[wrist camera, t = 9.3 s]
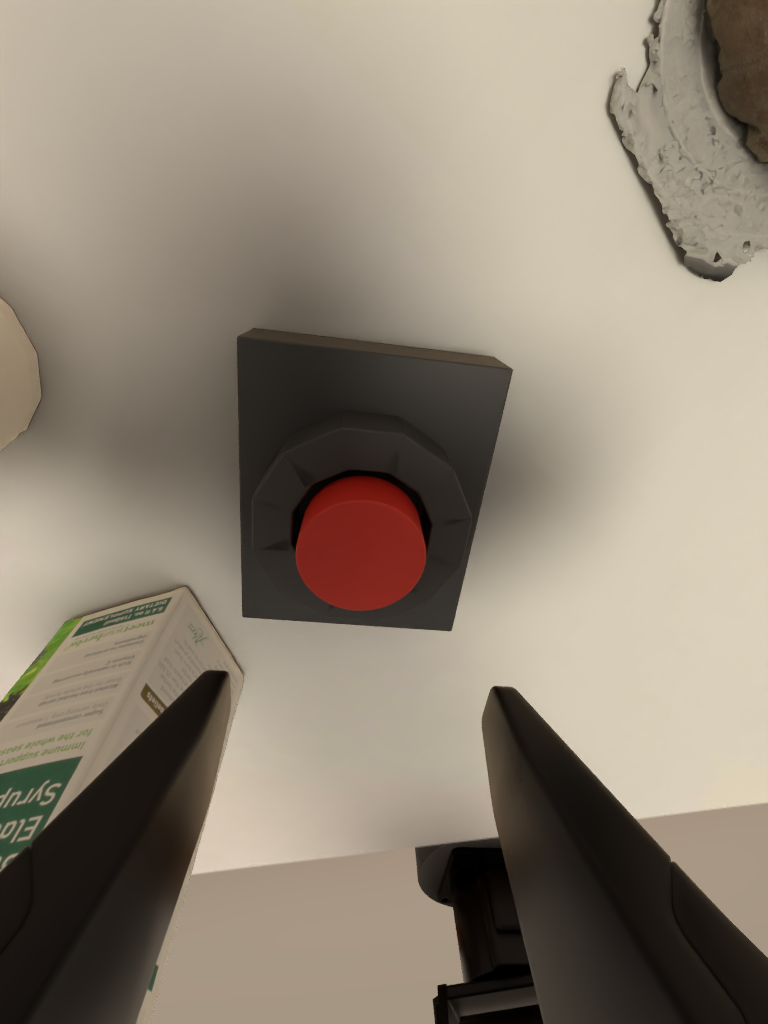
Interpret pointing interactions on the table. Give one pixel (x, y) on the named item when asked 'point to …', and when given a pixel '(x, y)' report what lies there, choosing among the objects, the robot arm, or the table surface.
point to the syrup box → (100, 715)
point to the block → (361, 459)
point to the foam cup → (16, 377)
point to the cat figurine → (704, 127)
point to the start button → (361, 544)
